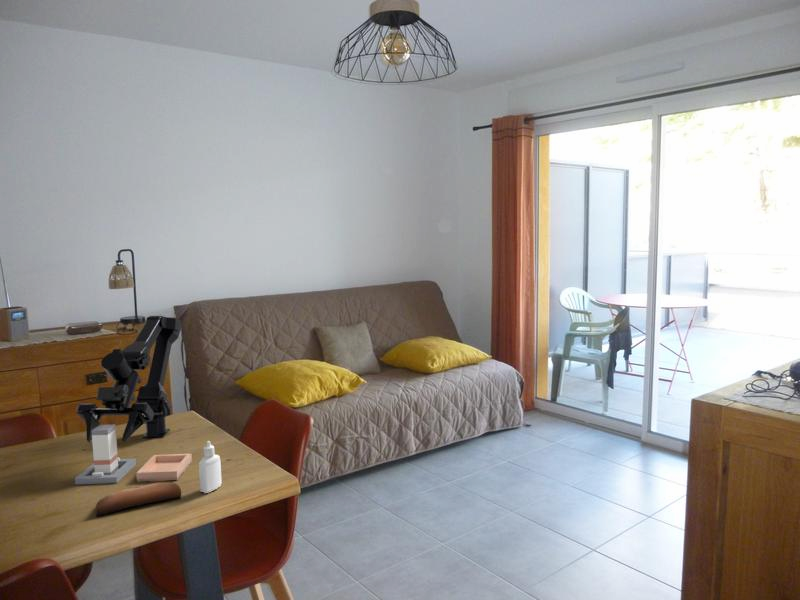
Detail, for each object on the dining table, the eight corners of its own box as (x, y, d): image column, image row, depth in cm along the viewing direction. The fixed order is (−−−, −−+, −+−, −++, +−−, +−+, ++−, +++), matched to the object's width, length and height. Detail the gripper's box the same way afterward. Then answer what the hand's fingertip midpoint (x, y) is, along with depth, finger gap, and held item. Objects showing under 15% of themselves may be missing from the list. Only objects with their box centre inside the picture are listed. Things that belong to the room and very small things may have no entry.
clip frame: (97, 465, 158) (97, 457, 158) (136, 463, 159) (135, 455, 159) (75, 484, 146) (74, 475, 146) (116, 482, 147) (116, 474, 146)
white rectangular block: (103, 470, 155) (99, 424, 153) (118, 470, 155) (115, 424, 153) (94, 477, 150) (91, 430, 149) (111, 477, 150) (107, 430, 149)
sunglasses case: (176, 485, 144) (177, 467, 141) (181, 509, 140) (182, 491, 136) (94, 502, 136) (93, 484, 132) (96, 528, 131) (95, 510, 127)
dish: (154, 463, 159) (153, 454, 159) (191, 462, 159) (191, 453, 159) (137, 481, 147) (136, 472, 147) (177, 480, 147) (176, 471, 147)
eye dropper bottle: (225, 488, 142) (223, 441, 141) (202, 495, 139) (199, 446, 137) (219, 483, 145) (216, 436, 144) (196, 489, 142) (193, 441, 141)
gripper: (77, 374, 156) (55, 427, 146) (146, 373, 156) (129, 426, 146) (95, 395, 165) (75, 447, 155) (160, 394, 164) (145, 446, 154)
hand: (105, 441), depth 152 cm, fingers open, 9 cm apart
